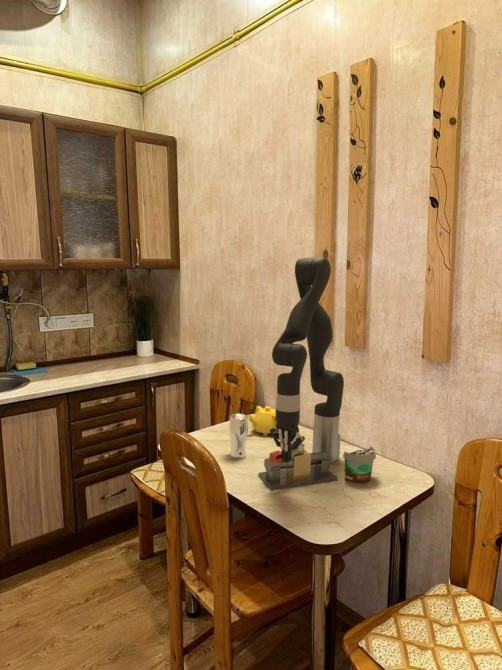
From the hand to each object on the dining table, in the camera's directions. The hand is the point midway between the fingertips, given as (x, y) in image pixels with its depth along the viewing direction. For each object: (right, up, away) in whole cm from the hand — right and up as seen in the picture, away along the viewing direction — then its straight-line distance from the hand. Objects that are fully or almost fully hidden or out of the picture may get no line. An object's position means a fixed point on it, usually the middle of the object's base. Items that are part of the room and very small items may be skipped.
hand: (286, 461), depth 145 cm
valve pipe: (+5, -8, +11) cm, 15 cm away
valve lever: (+1, 0, +6) cm, 6 cm away
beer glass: (-16, -6, +29) cm, 33 cm away
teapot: (-4, -2, +54) cm, 54 cm away
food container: (+26, -9, +10) cm, 30 cm away
